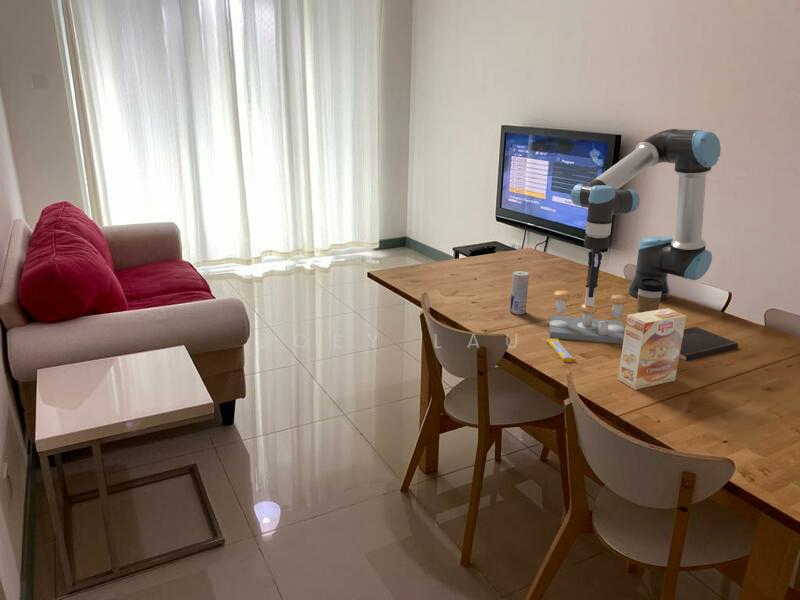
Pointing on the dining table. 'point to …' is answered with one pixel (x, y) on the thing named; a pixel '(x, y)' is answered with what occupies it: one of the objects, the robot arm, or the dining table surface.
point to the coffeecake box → (651, 348)
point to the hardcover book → (703, 344)
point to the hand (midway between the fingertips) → (589, 305)
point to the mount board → (585, 330)
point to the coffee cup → (649, 294)
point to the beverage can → (519, 292)
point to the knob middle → (588, 314)
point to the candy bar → (560, 350)
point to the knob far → (561, 300)
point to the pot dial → (603, 328)
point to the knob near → (618, 305)
